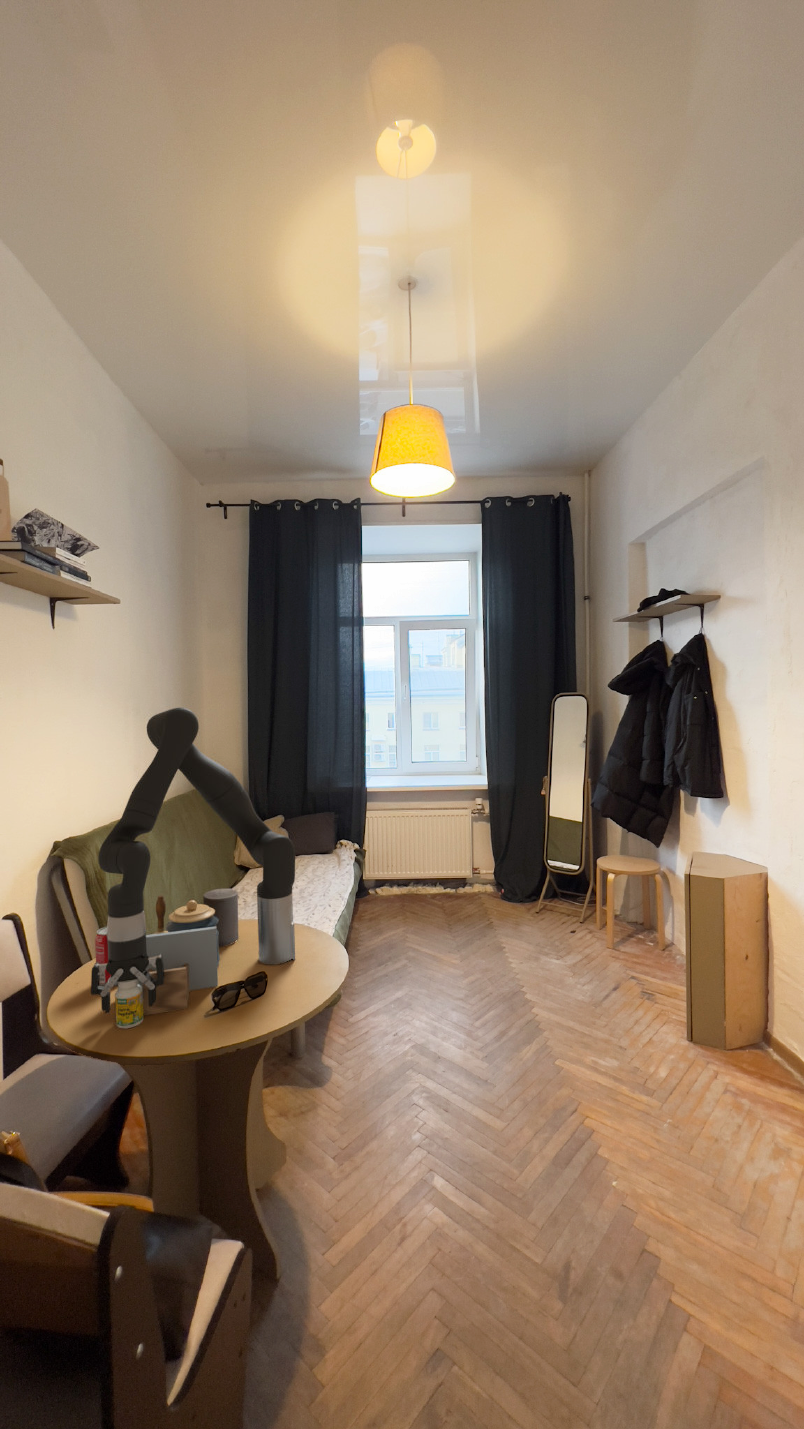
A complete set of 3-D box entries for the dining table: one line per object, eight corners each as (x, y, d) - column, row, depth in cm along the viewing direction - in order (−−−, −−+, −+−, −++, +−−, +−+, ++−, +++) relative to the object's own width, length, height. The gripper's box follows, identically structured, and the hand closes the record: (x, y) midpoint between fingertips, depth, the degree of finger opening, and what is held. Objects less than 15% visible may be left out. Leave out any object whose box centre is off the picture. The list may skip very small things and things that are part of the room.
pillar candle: (197, 946, 170) (196, 893, 170) (213, 933, 180) (212, 883, 180) (229, 948, 169) (228, 895, 168) (244, 934, 178) (243, 884, 178)
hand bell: (170, 945, 172) (168, 889, 172) (182, 953, 166) (180, 895, 165) (140, 953, 166) (138, 896, 166) (151, 962, 160) (149, 903, 160)
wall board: (217, 983, 147) (216, 926, 147) (217, 986, 146) (215, 928, 145) (119, 998, 141) (117, 938, 140) (118, 1001, 139) (116, 941, 139)
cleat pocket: (189, 990, 144) (188, 953, 144) (187, 1008, 135) (185, 968, 135) (148, 996, 141) (147, 958, 141) (143, 1015, 133) (142, 974, 132)
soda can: (116, 989, 145) (114, 935, 145) (90, 987, 147) (88, 934, 147) (134, 975, 152) (133, 924, 152) (109, 974, 154) (107, 923, 154)
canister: (185, 956, 164) (183, 891, 163) (229, 959, 161) (227, 893, 161) (156, 977, 151) (153, 907, 151) (203, 981, 148) (201, 910, 148)
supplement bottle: (145, 1014, 133) (144, 971, 133) (140, 1027, 128) (139, 982, 127) (119, 1018, 132) (117, 974, 131) (113, 1031, 126) (111, 985, 126)
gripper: (164, 923, 135) (166, 994, 135) (93, 931, 131) (96, 1005, 131) (160, 935, 128) (163, 1011, 128) (86, 944, 124) (89, 1022, 124)
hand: (129, 1008), depth 130 cm, fingers open, 8 cm apart
